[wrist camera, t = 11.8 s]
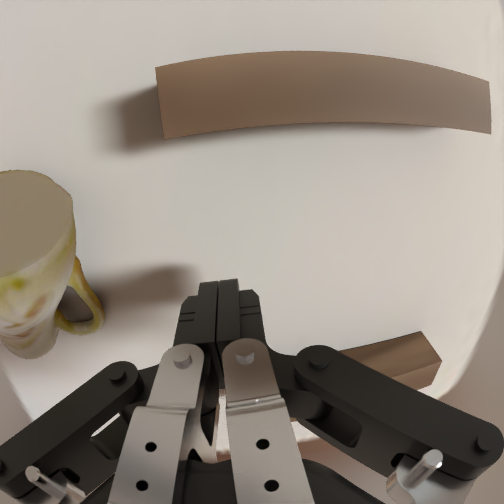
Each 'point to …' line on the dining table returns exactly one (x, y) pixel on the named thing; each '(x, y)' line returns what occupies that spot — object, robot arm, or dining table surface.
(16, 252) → the mug
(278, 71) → the wooden guide rails
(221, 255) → the dining table surface
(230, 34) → the dining table surface
